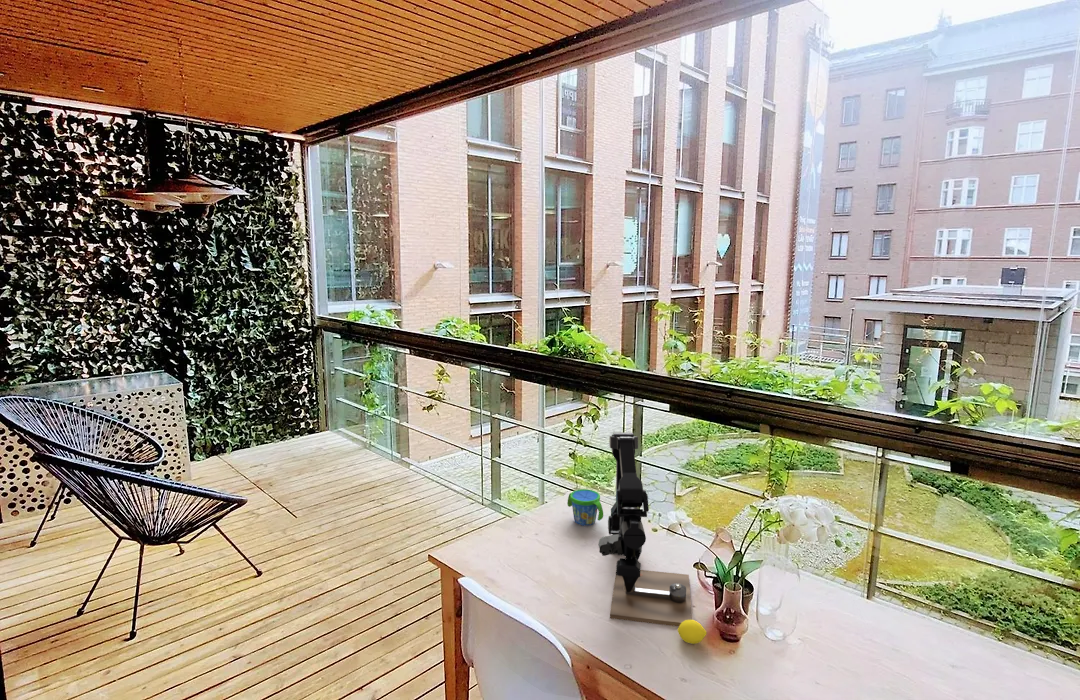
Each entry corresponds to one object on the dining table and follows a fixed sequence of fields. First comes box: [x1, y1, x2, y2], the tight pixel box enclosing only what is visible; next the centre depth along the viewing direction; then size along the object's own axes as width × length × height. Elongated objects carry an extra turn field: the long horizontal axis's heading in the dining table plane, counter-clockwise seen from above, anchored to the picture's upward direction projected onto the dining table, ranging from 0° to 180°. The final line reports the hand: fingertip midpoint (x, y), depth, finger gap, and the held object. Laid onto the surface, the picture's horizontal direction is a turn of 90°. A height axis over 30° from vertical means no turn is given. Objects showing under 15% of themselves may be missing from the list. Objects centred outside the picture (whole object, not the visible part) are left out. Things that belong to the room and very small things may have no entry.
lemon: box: [677, 619, 708, 645], centre depth 139 cm, size 7×5×5 cm
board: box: [609, 569, 693, 628], centre depth 158 cm, size 23×21×1 cm
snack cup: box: [566, 488, 604, 527], centre depth 202 cm, size 16×10×10 cm
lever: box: [624, 583, 686, 603], centre depth 155 cm, size 17×4×7 cm, turn 78°
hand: (629, 582), depth 157 cm, fingers open, 8 cm apart
